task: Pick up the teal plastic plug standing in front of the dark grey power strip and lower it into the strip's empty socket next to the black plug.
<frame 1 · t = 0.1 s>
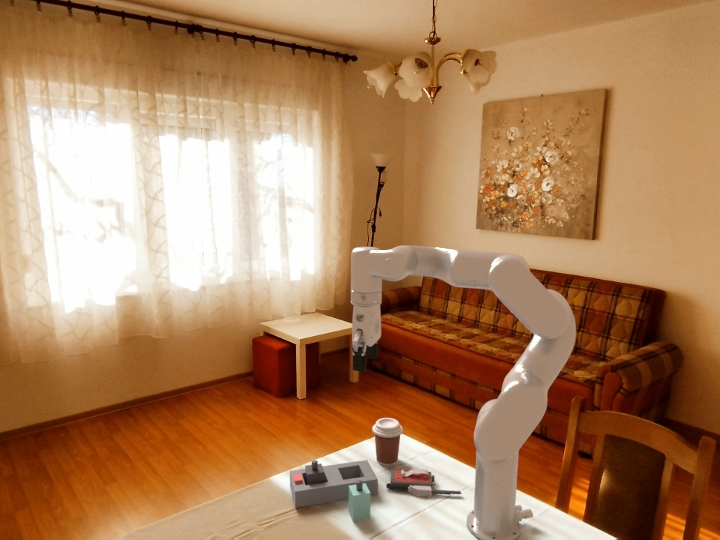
hand: (365, 364, 128), 37 cm above the table, tool pointing down, fingers open, 9 cm apart
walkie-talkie: (422, 489, 140), on the table
plug: (359, 515, 128), on the table
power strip: (333, 490, 138), on the table
coffee cup: (387, 460, 153), on the table
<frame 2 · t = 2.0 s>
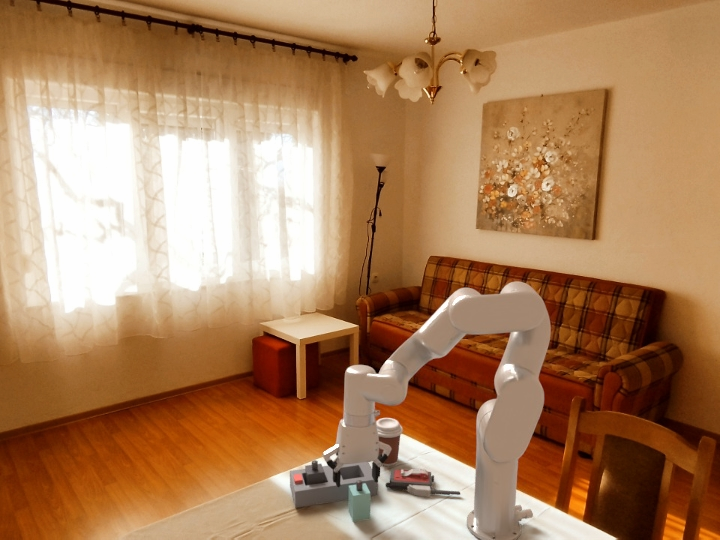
hand: (356, 481, 126), 9 cm above the table, tool pointing down, fingers open, 9 cm apart
nothing on the table moved.
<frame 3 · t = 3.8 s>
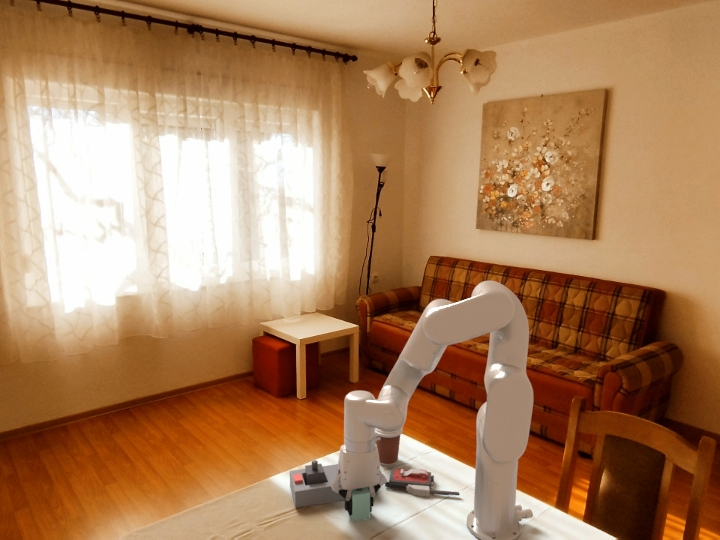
hand: (359, 509, 127), 1 cm above the table, tool pointing down, fingers closed on plug, 4 cm apart
plug: (359, 514, 128), on the table, touching gripper
everything else where it was.
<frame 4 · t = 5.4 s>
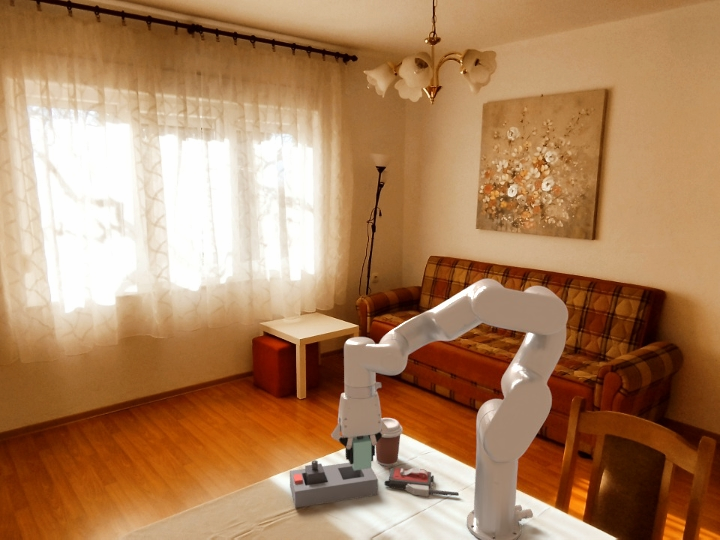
hand: (360, 459, 125), 15 cm above the table, tool pointing down, fingers closed on plug, 4 cm apart
plug: (360, 464, 125), point 14 cm above the table, touching gripper
everything else where it was.
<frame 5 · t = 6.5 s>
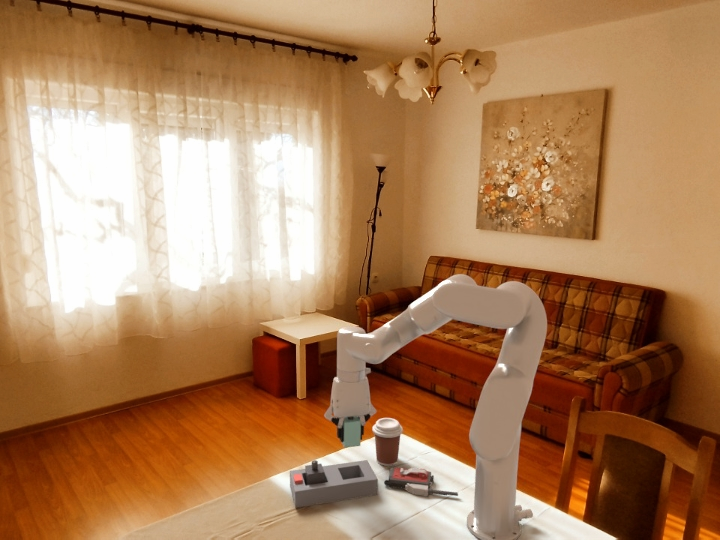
hand: (350, 438, 137), 14 cm above the table, tool pointing down, fingers closed on plug, 4 cm apart
plug: (350, 442, 137), point 13 cm above the table, touching gripper
everything else where it was.
when the fingers open (5 cm above the table, at t = 8.8 s): plug drops 4 cm, resting in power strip.
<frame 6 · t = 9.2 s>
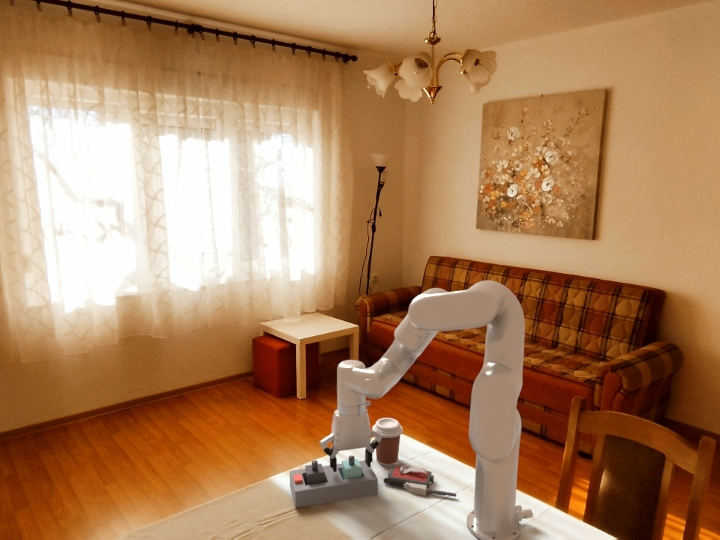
hand: (351, 467, 138), 6 cm above the table, tool pointing down, fingers open, 9 cm apart
plug: (351, 487, 139), resting in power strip
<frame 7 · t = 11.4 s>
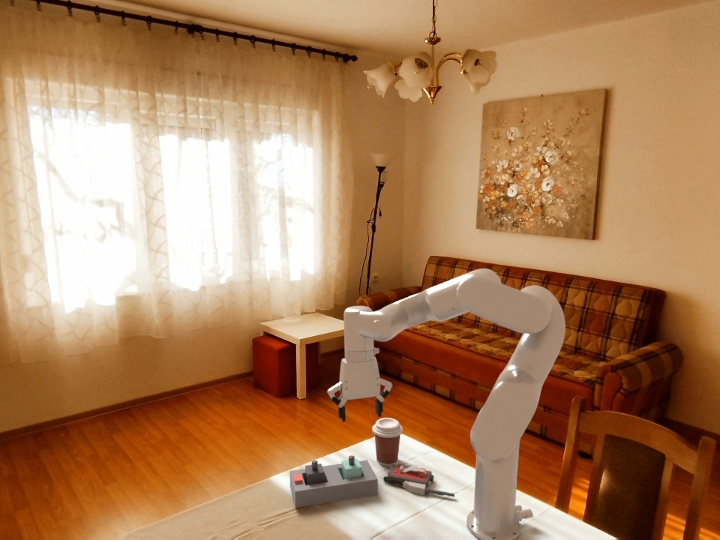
hand: (360, 417, 134), 21 cm above the table, tool pointing down, fingers open, 9 cm apart
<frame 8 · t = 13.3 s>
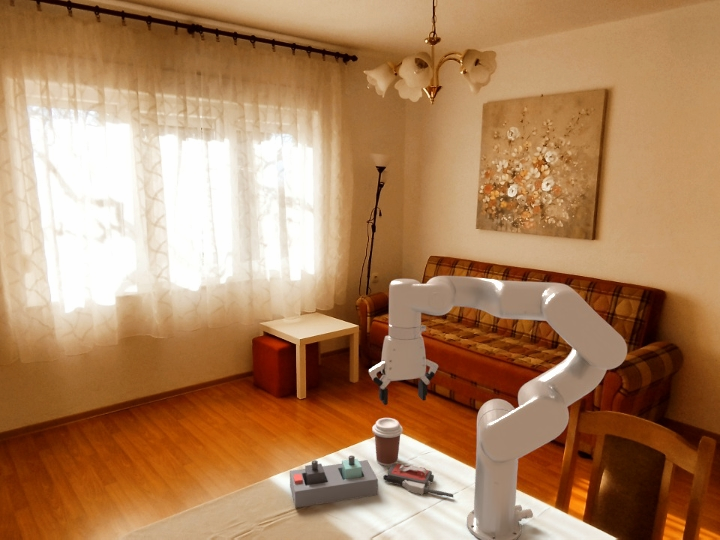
hand: (403, 400, 123), 30 cm above the table, tool pointing down, fingers open, 9 cm apart
at the end: plug 0.1 cm from the target spot on the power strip, point 0.0 cm above the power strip's base; plug tilted 0°; the gripper is holding nothing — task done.
